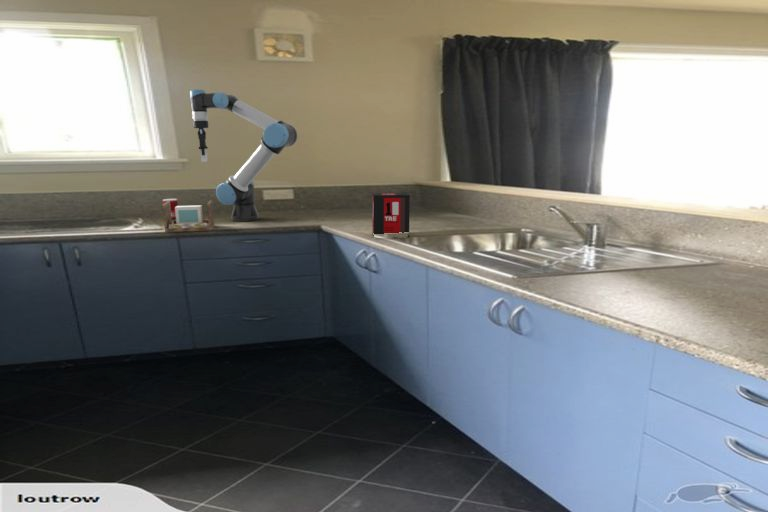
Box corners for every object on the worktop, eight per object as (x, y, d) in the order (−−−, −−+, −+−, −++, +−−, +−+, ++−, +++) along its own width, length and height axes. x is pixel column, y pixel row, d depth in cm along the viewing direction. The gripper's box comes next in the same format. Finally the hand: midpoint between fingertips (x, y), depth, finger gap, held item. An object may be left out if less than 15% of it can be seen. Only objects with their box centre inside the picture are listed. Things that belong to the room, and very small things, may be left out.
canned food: (181, 217, 293) (179, 198, 290) (174, 219, 285) (172, 200, 283) (169, 217, 294) (167, 198, 291) (162, 219, 286) (159, 200, 283)
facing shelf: (214, 225, 265) (212, 200, 262) (211, 230, 252) (209, 203, 249) (170, 227, 261) (167, 201, 258) (164, 231, 248) (162, 204, 244)
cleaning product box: (406, 234, 240) (407, 193, 236) (409, 238, 232) (409, 195, 227) (372, 235, 239) (372, 193, 234) (373, 238, 230) (373, 195, 226)
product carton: (203, 224, 260) (201, 205, 258) (201, 226, 254) (200, 206, 252) (178, 225, 258) (176, 205, 256) (176, 227, 252) (174, 207, 250)
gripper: (194, 121, 273) (198, 160, 278) (191, 119, 250) (196, 162, 255) (208, 121, 275) (212, 160, 280) (207, 119, 252) (211, 161, 257)
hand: (204, 161), depth 268 cm, fingers open, 13 cm apart
